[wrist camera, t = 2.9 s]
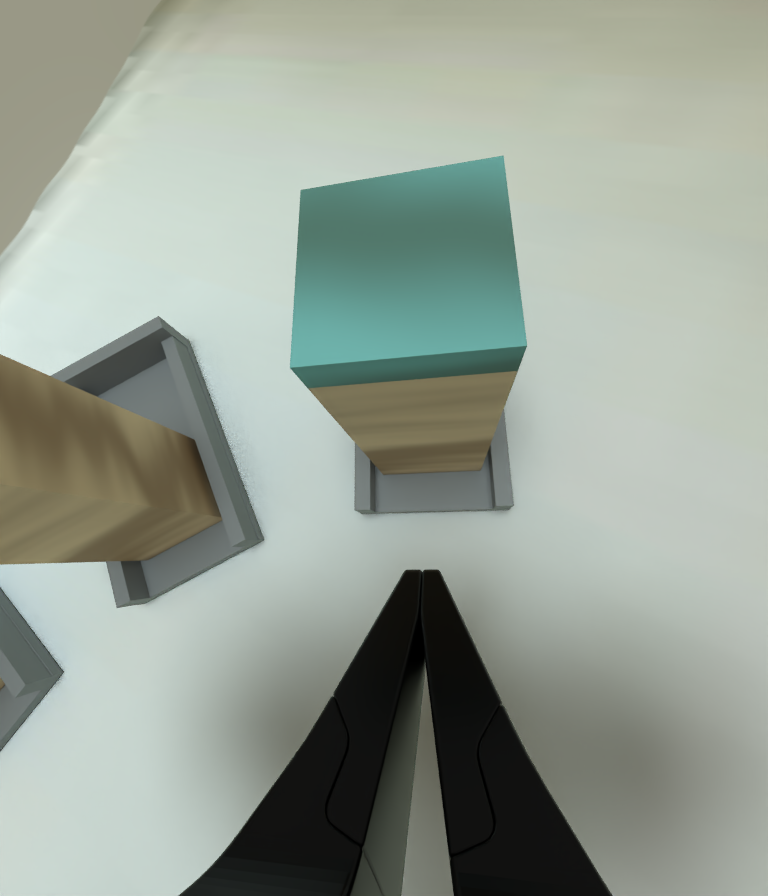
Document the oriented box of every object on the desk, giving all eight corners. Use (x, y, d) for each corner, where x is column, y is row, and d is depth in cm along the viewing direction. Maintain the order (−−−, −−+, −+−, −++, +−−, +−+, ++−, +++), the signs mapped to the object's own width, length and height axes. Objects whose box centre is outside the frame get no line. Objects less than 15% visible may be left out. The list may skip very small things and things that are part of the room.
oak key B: (226, 518, 19) (-57, 475, 8) (147, 560, 19) (-231, 570, 8) (199, 441, 20) (-72, 322, 10) (126, 481, 20) (-221, 406, 10)
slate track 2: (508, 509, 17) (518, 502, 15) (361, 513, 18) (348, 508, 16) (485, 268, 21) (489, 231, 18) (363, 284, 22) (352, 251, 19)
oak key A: (480, 470, 17) (526, 345, 7) (383, 474, 18) (289, 367, 8) (473, 379, 18) (503, 155, 8) (382, 387, 19) (300, 190, 9)
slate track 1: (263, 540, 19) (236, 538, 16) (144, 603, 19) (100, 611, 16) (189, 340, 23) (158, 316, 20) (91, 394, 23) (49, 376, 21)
